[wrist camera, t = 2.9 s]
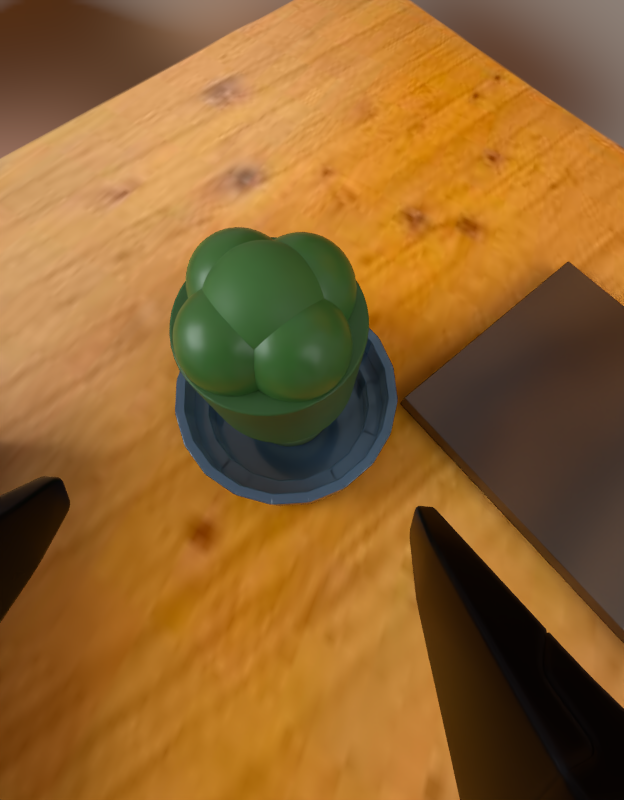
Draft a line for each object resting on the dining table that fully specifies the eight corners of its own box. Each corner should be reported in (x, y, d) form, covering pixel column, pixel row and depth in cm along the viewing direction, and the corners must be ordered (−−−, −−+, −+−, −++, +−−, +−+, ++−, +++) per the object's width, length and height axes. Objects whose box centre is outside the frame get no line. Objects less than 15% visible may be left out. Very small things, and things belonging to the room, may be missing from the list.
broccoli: (367, 414, 22) (437, 283, 9) (280, 485, 21) (227, 445, 8) (298, 337, 24) (279, 136, 11) (214, 400, 22) (83, 255, 10)
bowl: (421, 422, 22) (443, 403, 19) (274, 548, 20) (264, 557, 17) (304, 297, 25) (302, 258, 21) (163, 398, 23) (133, 375, 19)
